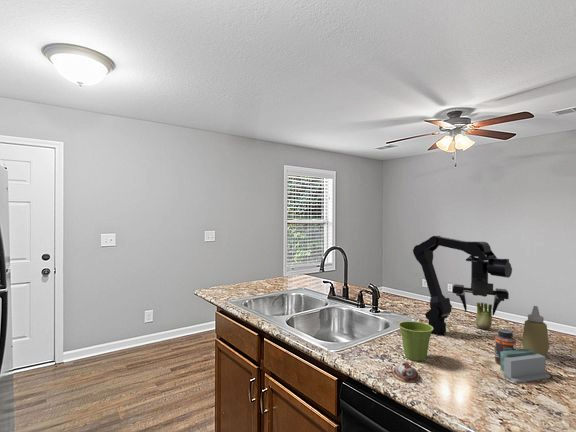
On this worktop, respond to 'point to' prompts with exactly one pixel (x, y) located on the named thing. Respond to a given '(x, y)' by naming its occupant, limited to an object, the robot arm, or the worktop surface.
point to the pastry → (405, 373)
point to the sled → (504, 354)
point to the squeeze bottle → (535, 333)
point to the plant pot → (415, 339)
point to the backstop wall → (525, 368)
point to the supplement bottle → (503, 343)
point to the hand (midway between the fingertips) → (479, 313)
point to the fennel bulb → (484, 316)
